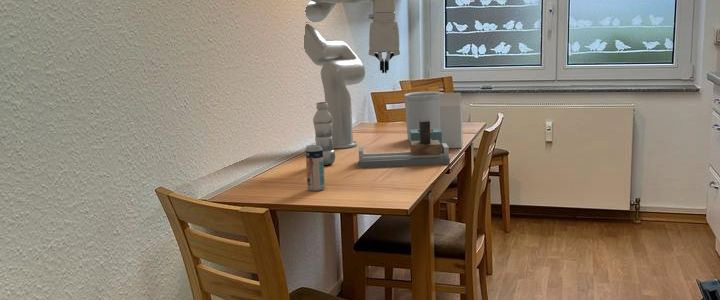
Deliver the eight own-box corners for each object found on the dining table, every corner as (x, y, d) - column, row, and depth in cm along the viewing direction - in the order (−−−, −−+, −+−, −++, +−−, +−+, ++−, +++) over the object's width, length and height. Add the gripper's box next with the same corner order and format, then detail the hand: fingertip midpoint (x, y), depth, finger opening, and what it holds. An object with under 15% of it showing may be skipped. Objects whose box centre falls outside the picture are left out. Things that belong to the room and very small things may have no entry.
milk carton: (461, 148, 246) (460, 93, 243) (440, 148, 248) (439, 94, 244) (462, 145, 253) (461, 91, 250) (442, 145, 254) (441, 92, 251)
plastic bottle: (338, 162, 230) (335, 101, 227) (331, 167, 224) (327, 103, 220) (320, 162, 232) (316, 101, 229) (312, 166, 226) (308, 104, 222)
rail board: (359, 168, 220) (358, 152, 219) (360, 160, 232) (359, 145, 231) (449, 164, 219) (449, 148, 218) (446, 157, 231) (445, 142, 230)
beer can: (307, 188, 195) (304, 145, 193) (324, 187, 195) (322, 144, 193) (307, 192, 190) (304, 148, 188) (325, 191, 190) (322, 147, 188)
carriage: (411, 155, 220) (410, 123, 218) (410, 150, 229) (409, 119, 227) (441, 153, 220) (440, 121, 218) (438, 149, 229) (437, 118, 227)
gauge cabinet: (411, 157, 234) (411, 133, 232) (410, 152, 242) (409, 129, 240) (442, 155, 233) (441, 131, 232) (440, 151, 242) (439, 128, 240)
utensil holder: (435, 143, 259) (434, 95, 256) (399, 141, 267) (397, 95, 264) (451, 137, 272) (450, 91, 269) (416, 136, 279) (414, 91, 276)
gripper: (361, 18, 235) (362, 74, 239) (406, 17, 235) (406, 73, 238) (361, 18, 242) (362, 72, 246) (405, 17, 242) (405, 71, 246)
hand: (384, 72), depth 242 cm, fingers closed
